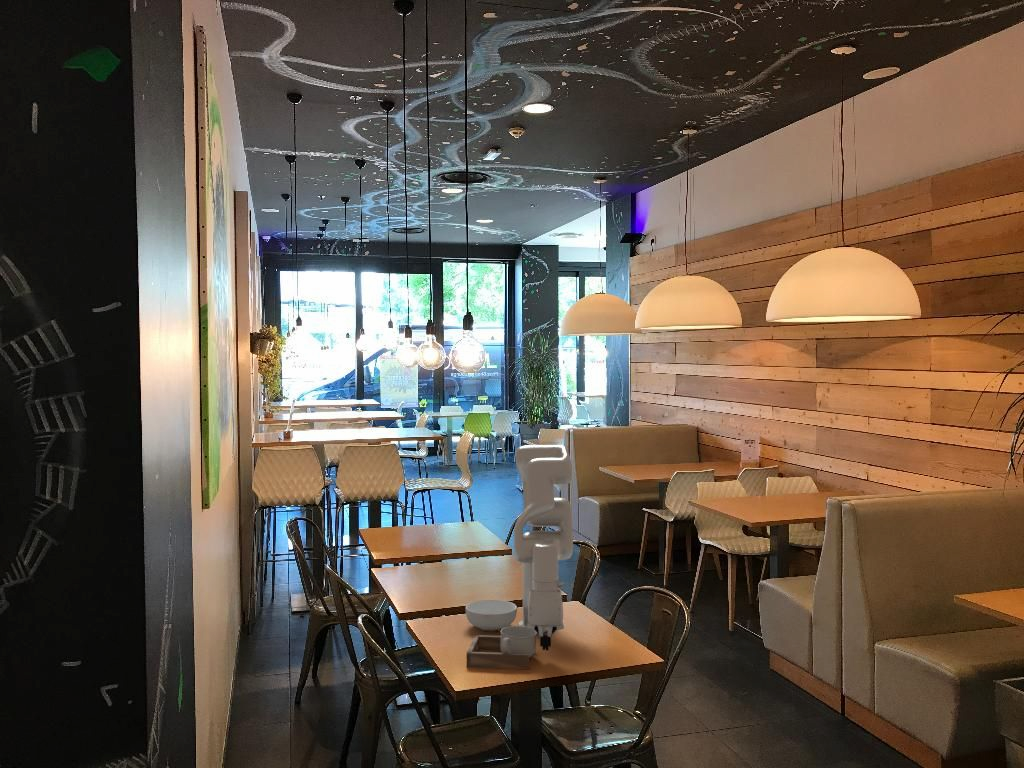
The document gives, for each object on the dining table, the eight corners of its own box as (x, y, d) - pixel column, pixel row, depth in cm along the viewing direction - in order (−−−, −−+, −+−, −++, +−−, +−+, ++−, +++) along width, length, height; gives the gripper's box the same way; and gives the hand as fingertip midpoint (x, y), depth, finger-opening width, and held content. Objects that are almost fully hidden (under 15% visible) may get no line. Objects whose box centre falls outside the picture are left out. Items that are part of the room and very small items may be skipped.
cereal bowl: (455, 630, 267) (455, 609, 267) (481, 617, 282) (481, 597, 282) (501, 638, 259) (501, 616, 259) (525, 624, 274) (525, 603, 274)
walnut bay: (475, 648, 250) (475, 635, 250) (533, 650, 248) (533, 637, 248) (466, 667, 233) (466, 653, 233) (528, 669, 232) (528, 655, 231)
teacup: (517, 649, 249) (517, 622, 249) (544, 657, 242) (544, 629, 242) (485, 661, 238) (485, 633, 238) (513, 669, 231) (513, 641, 231)
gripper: (571, 583, 242) (571, 645, 242) (520, 582, 243) (521, 644, 243) (570, 589, 234) (571, 653, 234) (518, 588, 236) (518, 652, 236)
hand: (545, 648), depth 239 cm, fingers closed
